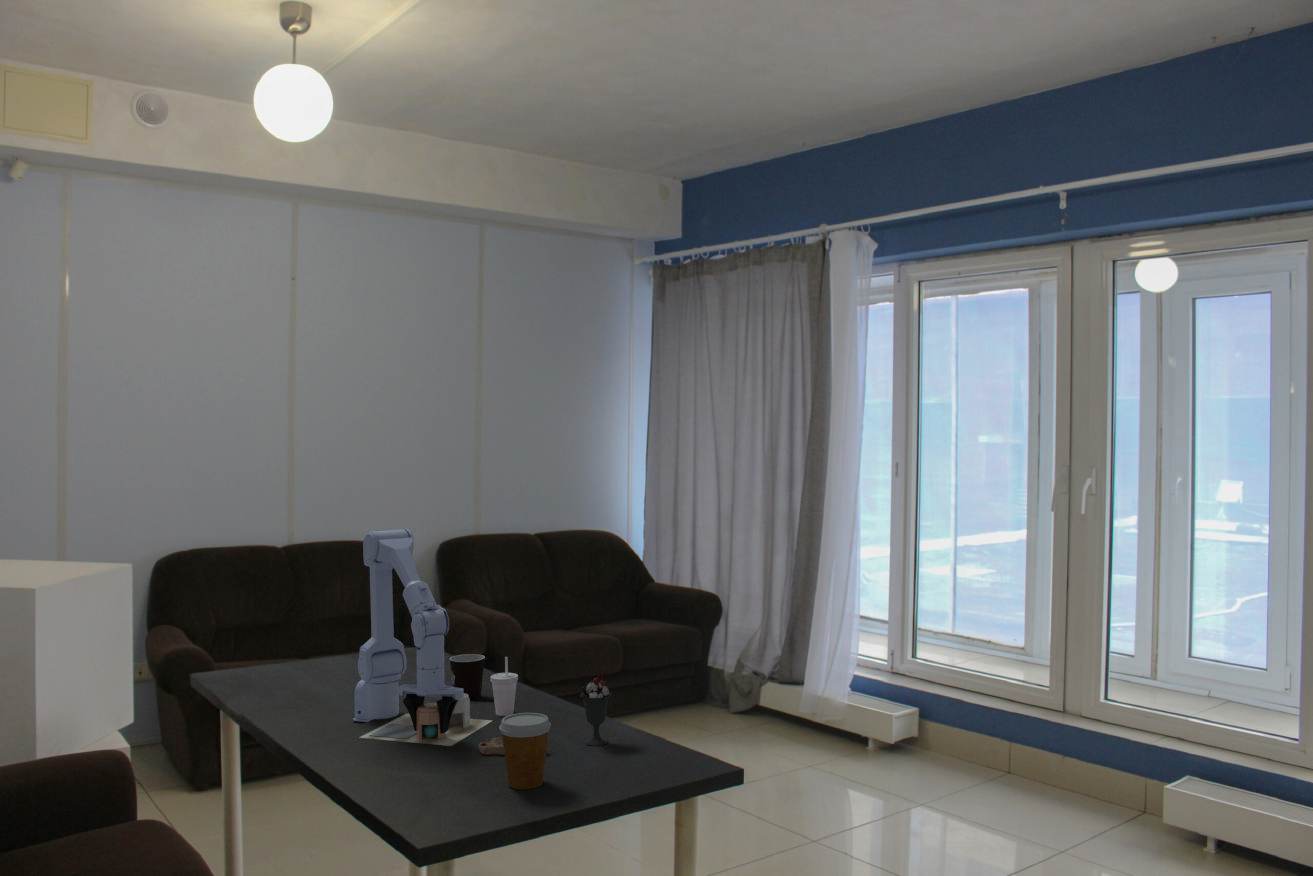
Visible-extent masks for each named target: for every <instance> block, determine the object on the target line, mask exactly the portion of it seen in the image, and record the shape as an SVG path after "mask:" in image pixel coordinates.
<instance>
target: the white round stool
mask: <svg viewBox="0 0 1313 876" xmlns="http://www.w3.org/2000/svg"><path fill="white" fill-rule="evenodd" d="M470 702H471V701H470V698H469V697H468V694H466V693H464V697H463V698H462V699H460V700H458V702H457V704H456V706H455V708H454V710H453V713H452V715H451V719H450V722H449V724H452V723H463V728H466V727H468V726H470V719H471V714H470V711H471V707H470V706H471V703H470Z"/></svg>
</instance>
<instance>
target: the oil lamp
mask: <svg viewBox="0 0 1313 876" xmlns="http://www.w3.org/2000/svg"><path fill="white" fill-rule="evenodd" d="M478 750H479V752H480V753H481V754H482V755H486V756H487V755H502V756H505V753H504V746H503V738H502V735H501V736H498V737H493V738H491V739H490V740H489V741H480V743H478Z"/></svg>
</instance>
